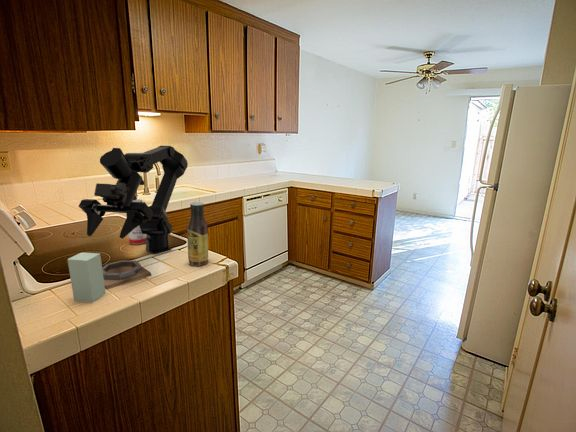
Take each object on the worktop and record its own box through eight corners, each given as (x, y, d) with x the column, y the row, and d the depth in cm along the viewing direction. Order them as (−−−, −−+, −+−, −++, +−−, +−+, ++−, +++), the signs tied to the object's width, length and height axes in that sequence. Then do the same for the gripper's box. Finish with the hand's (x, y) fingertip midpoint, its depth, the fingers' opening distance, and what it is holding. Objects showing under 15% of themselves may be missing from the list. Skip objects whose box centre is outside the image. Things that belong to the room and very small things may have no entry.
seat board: (134, 263, 99) (134, 260, 99) (151, 275, 91) (150, 272, 91) (91, 274, 90) (91, 271, 90) (106, 289, 83) (105, 285, 82)
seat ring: (132, 262, 97) (131, 257, 97) (145, 272, 91) (145, 267, 90) (96, 271, 90) (95, 267, 90) (108, 283, 84) (107, 278, 83)
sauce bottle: (184, 262, 101) (181, 202, 96) (201, 257, 105) (199, 200, 100) (195, 269, 96) (192, 206, 91) (213, 263, 101) (210, 203, 96)
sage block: (87, 291, 81) (81, 252, 78) (105, 293, 81) (100, 253, 78) (74, 300, 77) (67, 259, 74) (93, 302, 76) (86, 260, 74)
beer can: (150, 242, 118) (146, 201, 113) (133, 246, 113) (128, 203, 109) (143, 238, 122) (140, 198, 118) (126, 242, 117) (122, 200, 113)
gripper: (78, 169, 85) (50, 219, 77) (143, 172, 83) (122, 224, 75) (102, 193, 94) (79, 239, 86) (160, 196, 92) (143, 244, 84)
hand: (104, 236), depth 83 cm, fingers open, 9 cm apart
